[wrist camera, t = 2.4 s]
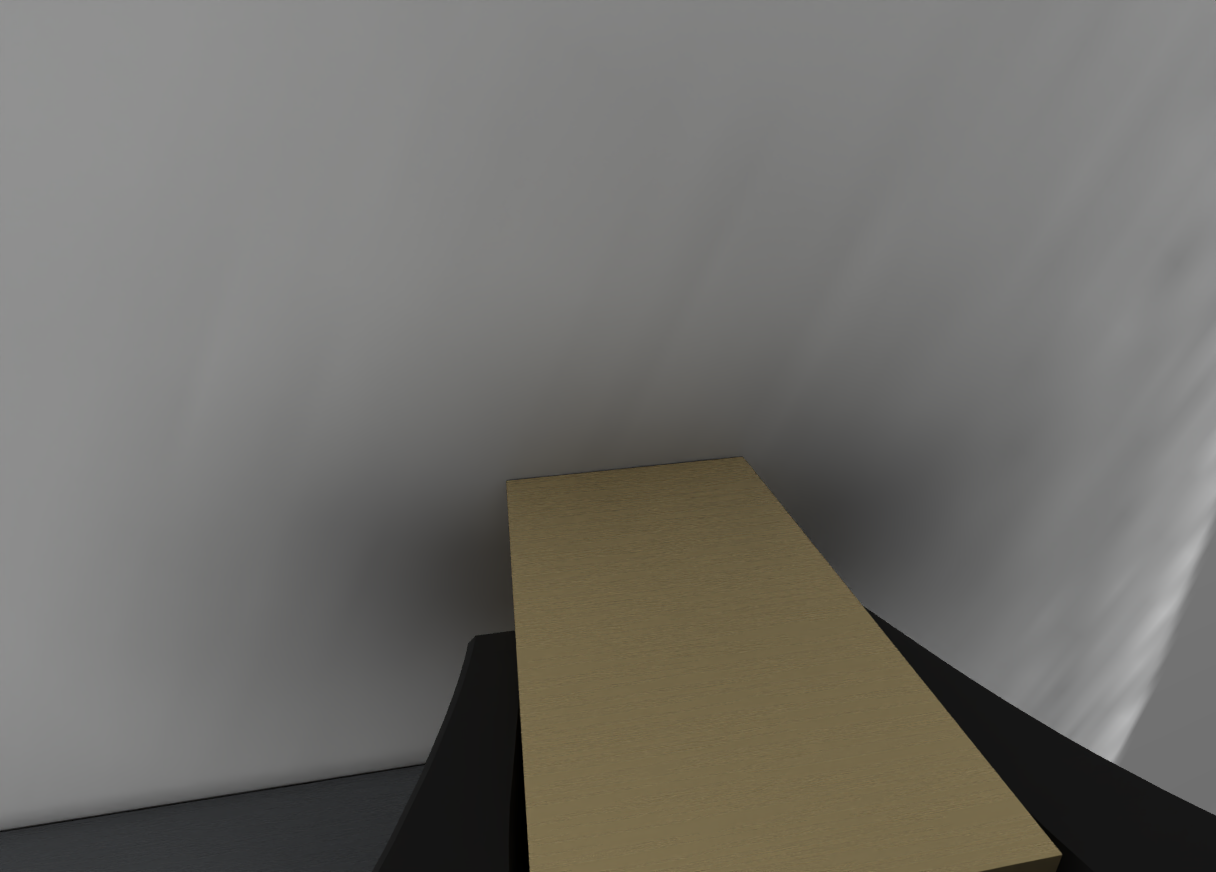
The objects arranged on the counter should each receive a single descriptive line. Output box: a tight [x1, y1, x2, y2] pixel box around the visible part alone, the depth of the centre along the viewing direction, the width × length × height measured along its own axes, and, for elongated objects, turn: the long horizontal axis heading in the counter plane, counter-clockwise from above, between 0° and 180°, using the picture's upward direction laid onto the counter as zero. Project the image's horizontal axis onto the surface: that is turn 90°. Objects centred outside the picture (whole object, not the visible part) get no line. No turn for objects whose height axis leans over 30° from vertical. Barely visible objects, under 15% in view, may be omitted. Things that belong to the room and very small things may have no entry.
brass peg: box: [506, 457, 1062, 872], centre depth 9 cm, size 4×4×7 cm
